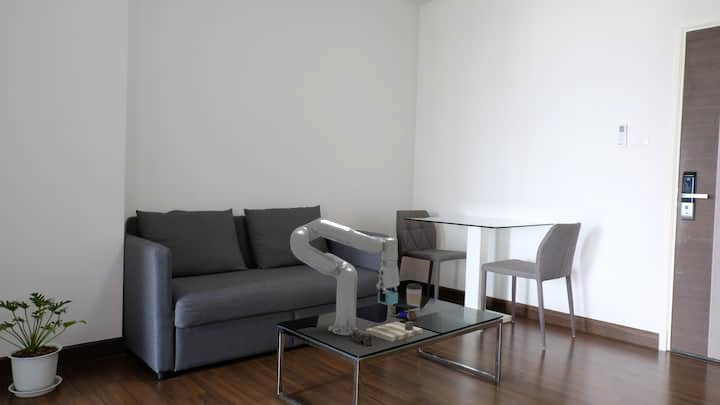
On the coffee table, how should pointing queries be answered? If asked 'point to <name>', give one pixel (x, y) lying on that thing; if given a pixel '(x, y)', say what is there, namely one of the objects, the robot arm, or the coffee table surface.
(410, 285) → the coffee cup
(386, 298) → the teal drawer cube
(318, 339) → the coffee table surface
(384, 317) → the coffee table surface
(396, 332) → the hub board
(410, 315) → the figurine character
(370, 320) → the coffee table surface
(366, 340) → the rhino figurine
